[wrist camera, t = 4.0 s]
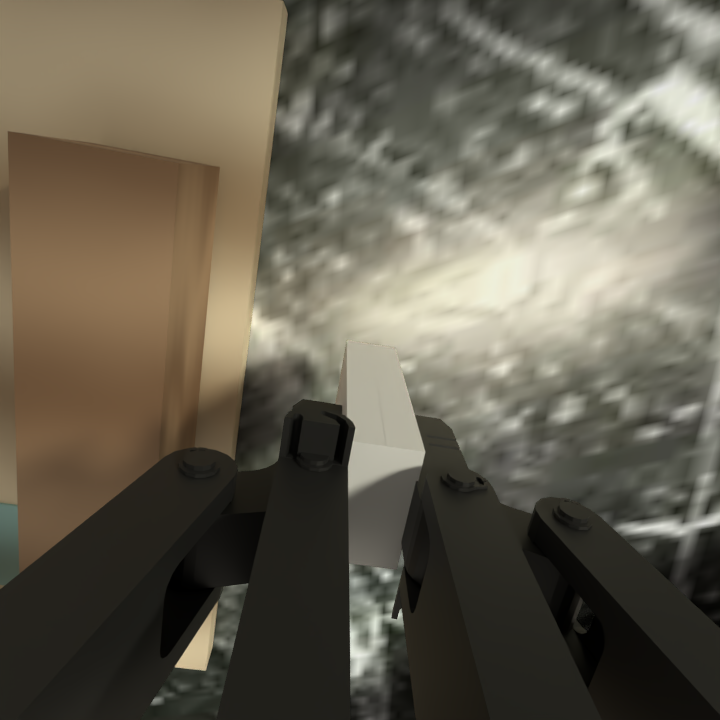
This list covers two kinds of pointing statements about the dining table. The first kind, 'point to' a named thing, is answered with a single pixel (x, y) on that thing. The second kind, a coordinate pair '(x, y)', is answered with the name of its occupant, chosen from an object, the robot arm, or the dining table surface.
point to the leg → (102, 321)
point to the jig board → (159, 137)
